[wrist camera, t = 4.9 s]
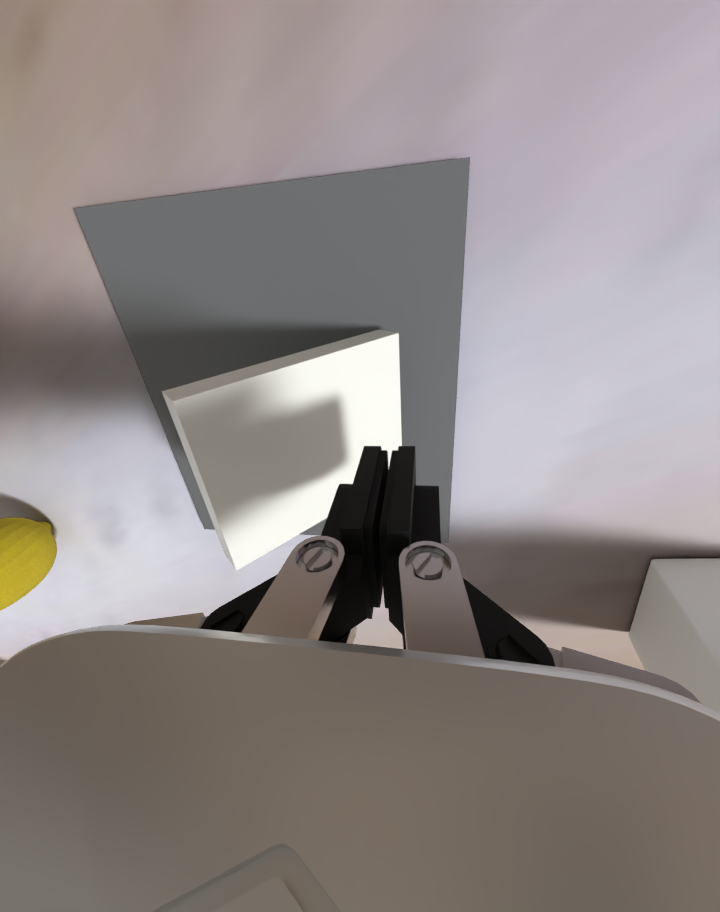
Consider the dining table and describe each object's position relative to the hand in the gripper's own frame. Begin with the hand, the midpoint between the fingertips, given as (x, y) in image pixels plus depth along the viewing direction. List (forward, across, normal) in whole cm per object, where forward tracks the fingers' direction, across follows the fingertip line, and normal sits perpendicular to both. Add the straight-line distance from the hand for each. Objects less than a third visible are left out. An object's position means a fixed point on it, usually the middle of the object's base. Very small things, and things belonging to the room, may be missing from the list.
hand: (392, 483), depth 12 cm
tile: (+6, +1, 0) cm, 6 cm away
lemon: (+7, +28, +10) cm, 30 cm away
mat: (+7, +6, 0) cm, 9 cm away
